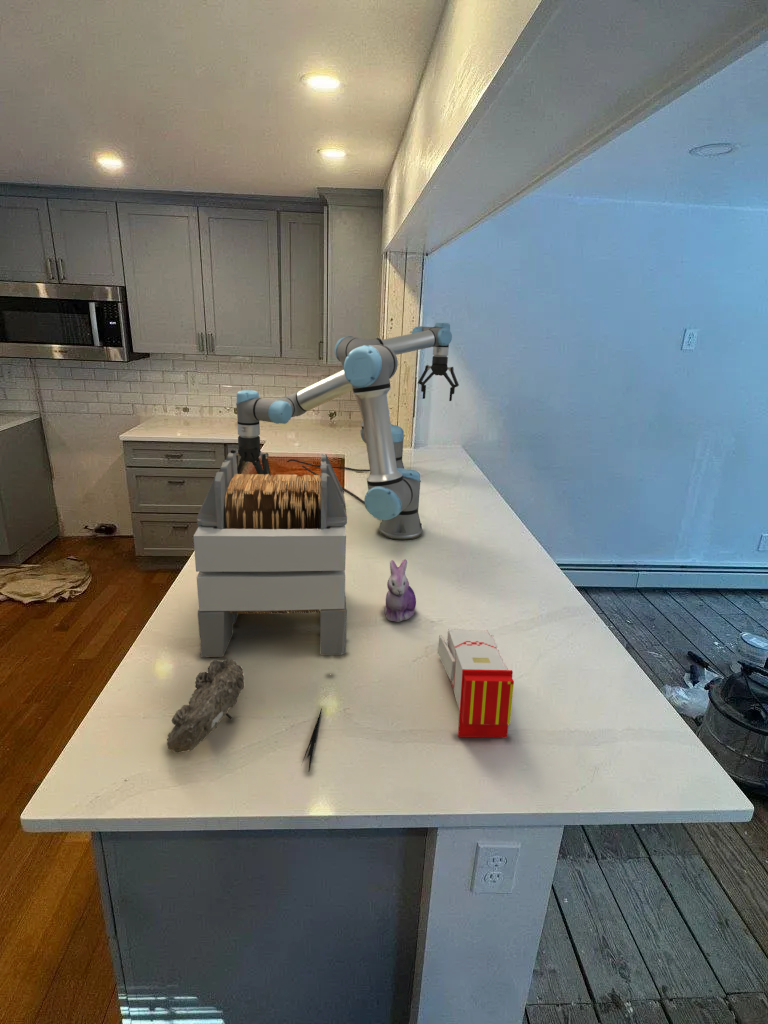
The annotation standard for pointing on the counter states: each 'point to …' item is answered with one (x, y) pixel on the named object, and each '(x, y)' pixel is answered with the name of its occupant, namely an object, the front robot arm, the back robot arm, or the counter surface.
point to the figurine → (399, 594)
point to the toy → (478, 682)
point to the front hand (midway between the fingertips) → (250, 497)
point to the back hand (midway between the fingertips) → (437, 399)
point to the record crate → (271, 552)
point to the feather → (313, 740)
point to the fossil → (206, 705)
